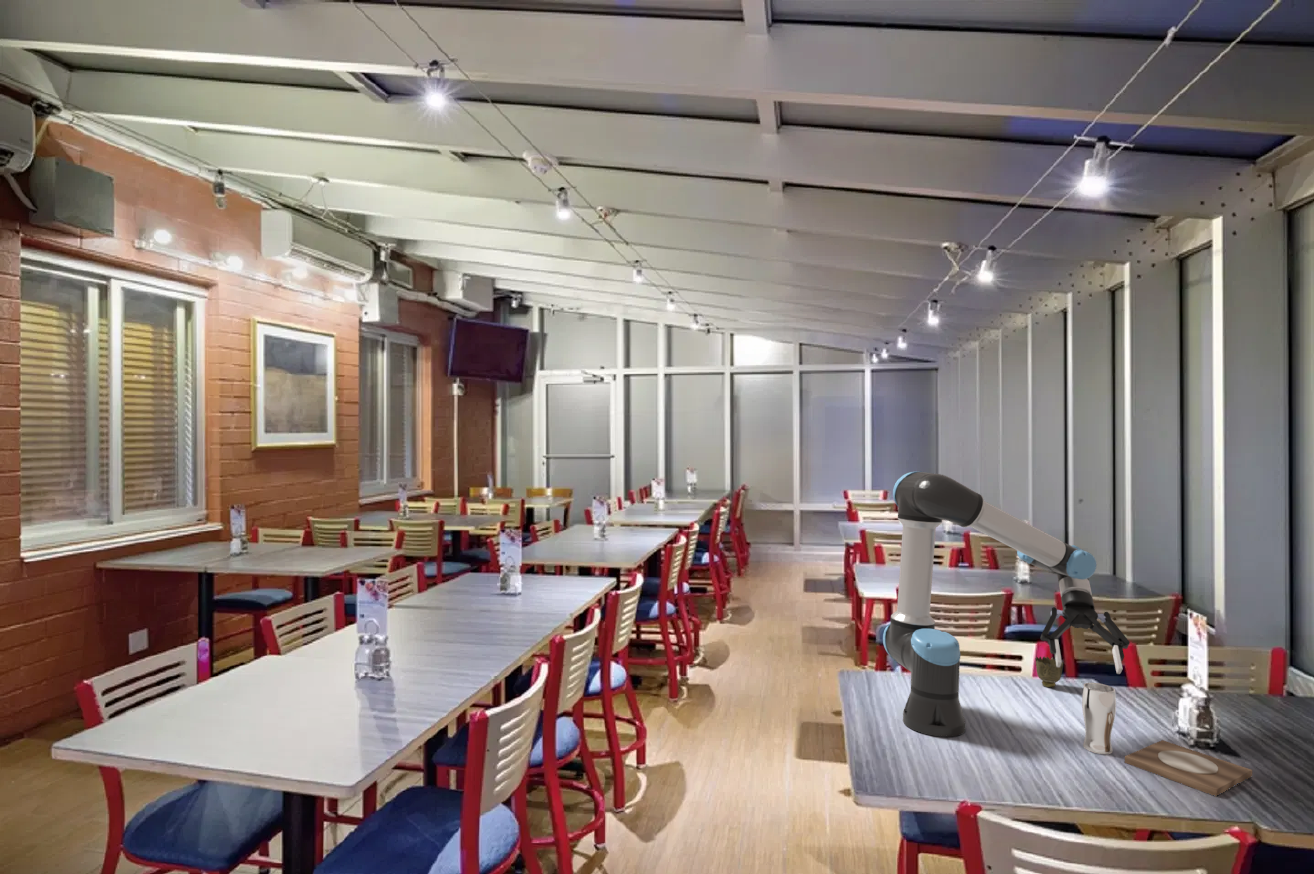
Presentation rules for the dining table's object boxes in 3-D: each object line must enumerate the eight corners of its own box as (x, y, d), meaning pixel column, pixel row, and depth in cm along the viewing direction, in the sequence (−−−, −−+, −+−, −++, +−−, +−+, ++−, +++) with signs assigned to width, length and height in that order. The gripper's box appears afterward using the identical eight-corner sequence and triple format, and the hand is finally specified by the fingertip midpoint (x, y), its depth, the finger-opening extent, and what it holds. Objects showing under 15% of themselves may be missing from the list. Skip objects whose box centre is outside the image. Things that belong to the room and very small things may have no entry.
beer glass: (1110, 745, 177) (1112, 684, 177) (1118, 757, 171) (1119, 694, 171) (1078, 741, 180) (1079, 680, 180) (1084, 752, 173) (1086, 690, 173)
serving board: (1216, 796, 153) (1216, 787, 153) (1124, 762, 168) (1124, 754, 168) (1252, 776, 162) (1252, 768, 162) (1162, 746, 178) (1162, 738, 178)
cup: (1066, 691, 215) (1067, 664, 215) (1039, 689, 216) (1039, 662, 216) (1057, 683, 222) (1058, 657, 222) (1031, 681, 223) (1032, 655, 223)
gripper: (1125, 608, 198) (1142, 680, 184) (1024, 600, 206) (1032, 669, 192) (1132, 592, 193) (1149, 666, 179) (1027, 585, 201) (1036, 654, 186)
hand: (1089, 668), depth 185 cm, fingers open, 13 cm apart
